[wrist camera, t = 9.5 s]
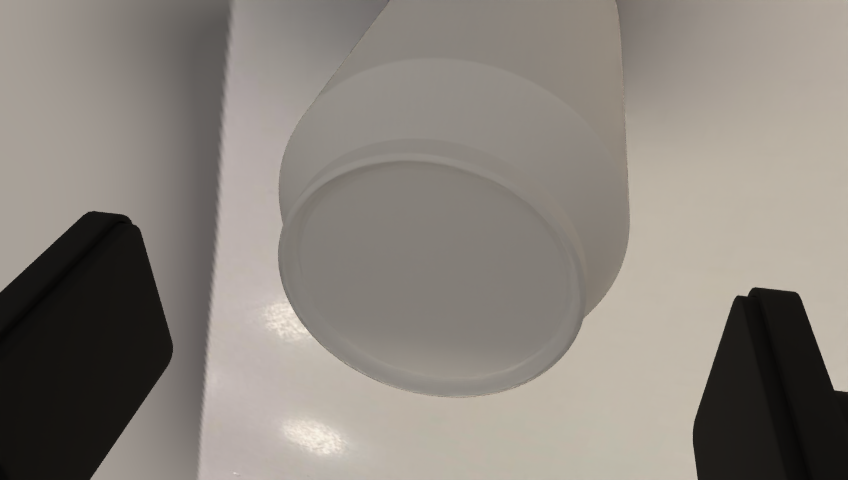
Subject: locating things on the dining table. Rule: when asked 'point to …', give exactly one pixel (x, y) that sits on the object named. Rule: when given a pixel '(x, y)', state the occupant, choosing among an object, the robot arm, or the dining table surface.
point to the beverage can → (460, 192)
